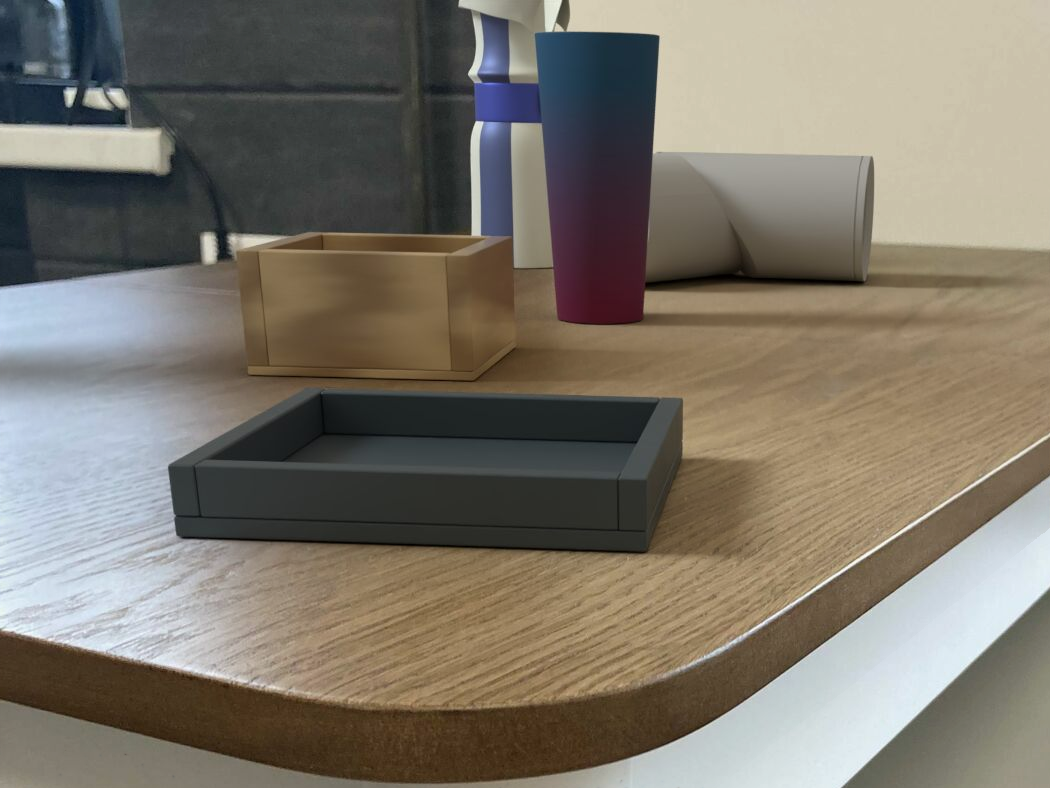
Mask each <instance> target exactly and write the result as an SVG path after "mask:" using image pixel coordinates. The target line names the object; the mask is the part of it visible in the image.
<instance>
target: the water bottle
mask: <svg viewBox="0 0 1050 788" xmlns="http://www.w3.org/2000/svg"><path fill="white" fill-rule="evenodd" d="M458 8H459V9H462V10H463V9H464V10H470V12H471V16H472V22H473V28H474V29H473V30H474V35H475V36H474V37H475V53H474V60H473V63H472V66H471V68H470V69H469V71H468V73H467V76H468V78H470V80H472V82H473V84H474V85H473V86H474V87H473V88H474V111H475V112H474V113H475V115H474V116H475V123H474V125H473V128H472V130H471V135H470V183H471V185H470V186H471V187H470V188H471V236H511V237H512V246H513V269H547V268H548V269H549V268H553V257H552V245H551V232H550V219H549V207H548V194H547V182H546V169H545V157H544V144H543V132H542V119H541V107H540V94H539V82H538V69H537V57H536V44H535V33H537V32H556V31H555V29H556V26H557V25H558V26H559V27H560V28H561V29H562V31H568V27H569V23H570V19H571V6H570V0H459V1H458Z"/></svg>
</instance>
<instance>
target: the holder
mask: <svg viewBox="0 0 1050 788" xmlns="http://www.w3.org/2000/svg"><path fill="white" fill-rule="evenodd" d="M235 257H236V268H237V279H238V287H239V296H240V307H241V316H242V326H243V336H244V346H245V356H246V365H247V374H248V375H249V376H276V377H277V376H280V377H287V376H288V377H313V378H314V377H315V378H316V377H317V378H318V377H319V378H320V377H321V378H349V379H350V378H353V379H354V378H356V379H357V378H358V379H388V380H389V379H391V380H392V379H394V380H396V379H397V380H428V381H429V380H430V381H431V380H432V381H464V382H465V381H467V382H468V381H470V382H474V381H475V380H476V379H478V378H479V377H481V375H483V374H484V373H485V372H486V371H487V370H489V369H490V368H492V366H494V365H496V363H497V362H499V361H500V360H501V359H502V358H504V357H505V356H507V354H509V353H510V352H511V351H512V350H514V349H515V348H516V347H517V339H516V313H515V312H516V310H515V306H516V305H515V282H514V280H515V279H514V278H515V277H514V268H513V246H512V237H511V236H472V234H470V235H467V234H466V235H465V234H464V235H463V234H421V233H420V234H417V233H376V232H375V233H374V232H373V233H372V232H371V233H370V232H369V233H368V232H367V233H365V232H326V231H325V232H323V231H322V232H321V231H320V232H319V231H307V232H303V233H300V234H295V235H291V236H287V237H283V238H281V239H276V240H272V241H268V242H263V243H260V244H256V245H252V246H249V247H243V248H240V249H237V250H235Z"/></svg>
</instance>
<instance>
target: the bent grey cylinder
mask: <svg viewBox="0 0 1050 788" xmlns="http://www.w3.org/2000/svg"><path fill="white" fill-rule="evenodd" d="M874 207H875V162H874V157H873V155H841V154H840V155H838V154H835V155H834V154H794V153H793V154H791V153H748V152H747V153H744V152H743V153H740V152H739V153H738V152H737V153H736V152H695V151H693V152H691V151H687V152H686V151H656V152H653V158H652V175H651V192H650V209H649V226H648V243H647V260H646V277H645V284H650V283H659V282H668V281H677V280H685V279H696V278H703V277H704V278H705V277H714V276H723V275H731V274H739V273H742V274H743V275H745V276H746V277H749V278H753V279H780V280H782V279H783V280H805V281H806V280H807V281H809V280H812V281H833V282H834V281H835V282H837V281H838V282H866V280H867V278H868V273H869V266H870V259H871V250H872V238H873V226H874V210H875V209H874Z"/></svg>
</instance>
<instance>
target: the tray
mask: <svg viewBox="0 0 1050 788" xmlns="http://www.w3.org/2000/svg"><path fill="white" fill-rule="evenodd" d="M683 435H684V399H683V398H682V397H666V396H665V397H663V396H662V397H657V396H624V395H623V396H622V395H588V394H587V395H586V394H584V395H583V394H581V395H580V394H553V393H552V394H549V393H546V394H545V393H514V392H513V393H512V392H511V393H510V392H475V391H474V392H471V391H441V390H440V391H439V390H438V391H437V390H433V391H432V390H405V389H404V390H403V389H400V390H399V389H364V388H363V389H362V388H361V389H360V388H329V387H328V388H326V389H325V388H323V387H305V388H304V389H303V388H302V390H300V391H298V392H296V393H294V394H292V395H291V396H288V397H287V398H286V399H283V400H282V401H280V402H278V403H276V404H275V405H273V406H271V407H270V408H267V409H265V410H264V411H262V412H260V413H258V414H256V415H255V416H253V417H251V418H250V419H249V418H248V419H247V420H246V421H244V422H242V423H240V424H238V425H237V426H235V427H233V428H232V429H230V430H228V431H226V432H224V433H222V434H221V435H219V436H217V437H216V438H214V439H212V440H210V441H208V442H206V443H205V444H203V445H201V446H200V447H198V448H196V449H194V450H192V451H191V452H189V453H187V454H185V455H183V456H181V457H179V458H178V459H175V460H174V461H173V462H171V463H168V465H167V472H168V480H169V487H170V495H171V503H172V512H173V515H174V517H173V521H174V530H175V535H176V537H184V538H215V539H245V540H247V539H250V540H276V541H305V542H306V541H307V542H333V543H334V542H340V543H366V544H396V545H425V546H426V545H429V546H457V547H460V546H461V547H485V548H486V547H488V548H491V547H493V548H515V549H516V548H519V549H520V548H521V549H547V550H548V549H550V550H551V549H552V550H577V551H579V550H581V551H607V552H608V551H609V552H611V551H613V552H640V553H641V552H643V553H645V552H647V551H648V548H649V545H650V542H651V539H652V537H653V535H654V532H655V529H656V526H657V524H658V521H659V519H660V515H661V513H662V510H663V508H664V505H665V503H666V500H667V497H668V496H669V495H668V494H669V492H670V489H671V487H672V484H673V482H674V479H675V476H676V473H677V471H678V468H679V466H680V463H681V460H682V458H683V453H684V452H683V451H684V450H683V448H684V447H683V445H684V444H683V439H684V437H683Z"/></svg>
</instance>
